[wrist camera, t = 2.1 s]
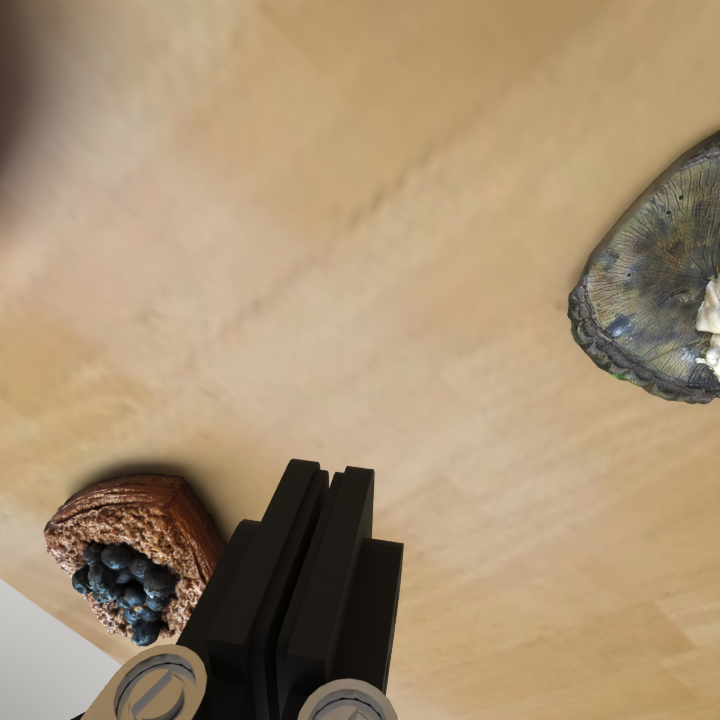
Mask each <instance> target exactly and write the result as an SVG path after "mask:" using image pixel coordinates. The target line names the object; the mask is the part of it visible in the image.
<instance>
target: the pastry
mask: <svg viewBox="0 0 720 720" xmlns="http://www.w3.org/2000/svg"><path fill="white" fill-rule="evenodd" d="M214 521H215V519H214V518H213V516H212V515H210V514H208V513H207V512H206V510H205V508H204V506H203V504H202V503H201V502H200V500H199V498H198V497H197V496H196V495H195V494H194V492H193V490H192V489H191V487H190V486H189V485H188V483H187V482H185V481H184V479H183V477H179V476H168V475H162V474H135V475H134V474H133V475H126V476H122V477H116V478H112V479H109V480H105V481H102V482H99V483H97V484H95V485H92V486H90V487H88V488H86V489H84V490H82V491H80V492H78V493H76V494H75V495H73V496H72V497H70V498H69V499H68V500H67V501H66V502H65V503H64V505H62V506H61V507H60V508H58V511H57V513H56V514H55V515H54V516H53V517H52V518H51V520H50V521H49V522H48V523H47V525H46V527H45V529H44V531H43V532H44V537H45V540H46V542H47V545H48V547H47V552H48V554H50V555H51V557H52V558H56V561H57V564H61V566H62V567H61V570H62V571H66V572H67V573H68V574H69V575H70V577H71V580H72V585H73V587H74V589H75V590H76V591H77V592H79V593H82V595H83V598H84V599H88V602H89V604H90V606H91V608H92V610H93V611H95V613H97V615H96V617H97V618H98V621H101V623H102V624H103V625H104V626H105V627H106V630H107V631H108V632H109V634H114V633H115V632H116V633H117V634H118V633H119V634H121V635H122V636H124V637H127V636H128V637H130V639H131V641H132V642H134V643H136V645H139V646H148V645H150V644H152V643H154V642H155V641H156V640H157V639H158V636H159V634H160V636H162V637H163V639H164V638H165V637H172V635H176V636H178V637H180V635H181V633H182V631H183V629H184V627H185V625H186V623H187V622H188V620H189V618H190V616H191V614H192V612H193V610H194V608H195V606H196V604H197V602H198V600H199V599H200V597H201V595H202V593H203V591H204V589H205V587H206V585H207V583H208V581H209V579H210V577H211V576H212V574H213V572H214V570H215V568H216V566H217V564H218V562H219V560H220V558H221V556H222V554H223V553H224V551H225V549H226V547H227V546H226V544H225V542H224V540H223V539H222V537H221V536H220V534H219V532H218V531H217V529H216V527H215V523H214Z"/></svg>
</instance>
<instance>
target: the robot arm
mask: <svg viewBox="0 0 720 720" xmlns="http://www.w3.org/2000/svg"><path fill="white" fill-rule="evenodd" d="M373 497H374V469H366V468H359V467H351V466H347V467H346V469H345V472H344V473H341V472H335V474H334V476H333V479H332V482H331V485H330V488H329V473H328V471H326V470H320V464H319V462H314V461H306V460H299V459H291V460H290V462H289V463H288V466H287V468H286V470H285V472H284V474H283V476H282V478H281V480H280V482H279V485H278V487H277V489H276V491H275V493H274V495H273V497H272V499H271V501H270V504H269V506H268V508H267V510H266V512H265V514H264V516H263V518H262V520H261V522H260V521H253V520H247V519H243V520H242V521H241V522H240V523H239V525H238V526H237V528H236V530H235V532H234V533H233V535H232V537H231V539H230V541H229V543H228V545H227V547H226V549H225V551H224V553H223V554H222V556H221V558H220V560H219V562H218V564H217V566H216V568H215V570H214V572H213V574H212V576H211V577H210V579H209V581H208V583H207V585H206V587H205V589H204V591H203V593H202V595H201V597H200V599H199V600H198V602H197V604H196V606H195V608H194V610H193V612H192V614H191V616H190V618H189V620H188V622H187V623H186V625H185V627H184V629H183V631H182V633H181V635H180V637H179V639H178V641H177V643H176V644H175V645H173V644H169V645H160V646H155V647H153V648H150V649H147V650H145V651H142V652H140V653H139V654H137V655H136V656H134V657H133V658H131V659H130V660H128V661H127V662H126V663H125V664H124V665H123V666H122V667H121V668H120V669H119V670H118V671H117V672H116V673H115V675H114V676H113V677H112V678H111V680H110V681H109V682H108V684H107V685H106V686H105V688H104V689H103V690H102V691H101V693H100V694H99V695H98V697H97V698H96V699H95V701H94V702H93V703H92V705H91V706H90V707H89V709H88V710H87V711H86V712H84V713H82V714H80V715H79V716H77V717H75V718H73V719H71V720H398V718H397V714H396V713H395V711H394V709H393V707H392V705H391V703H390V701H389V700H388V699H387V697H386V689H387V682H388V675H389V667H390V660H391V653H392V645H393V638H394V631H395V623H396V616H397V608H398V600H399V591H400V582H401V572H402V560H403V548H404V543H397V542H391V541H384V540H378V539H372V519H373Z"/></svg>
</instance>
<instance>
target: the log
mask: <svg viewBox="0 0 720 720" xmlns="http://www.w3.org/2000/svg"><path fill="white" fill-rule="evenodd" d="M568 302H569V308H568V314H567V315H568V317H569V319H571V325H572V327H571V333H572V335H573V337H574V340H575V342H576V343H577V344H578V345H579V346H580V347H581V348H582V349H583V351H584V352H585V353H586V354H587V355H588V356H589V357H590V358H591V359H592V361H593V362H594V363H595V364H596V365H597V366H598V367H599V368H600V369H602V370H604V371H606V372H608V373H609V374H611V375H612V376H613V377H615V378H616V379H619V380H626V381H629V382H631V383H633V384H635V385H637V386H639V387H642V388H643V389H644V390H646V391H647V392H648V393H650V394H652V395H655V396H658V397H661V398H663V399H665V400H668V401H679V402H681V401H684V402H687V403H689V404H695V403H700V404H707V403H709V402H711V401H712V400H713V399H714V398H715V397H717V398H720V131H718V132H717V133H715V134H713V135H711V136H710V137H708V138H707V139H705V140H703V141H702V142H700V143H699V144H697V145H696V146H694V147H693V148H691V149H690V150H689V151H687V152H686V153H684V154H683V155H681V156H680V157H679V158H678V159H677V160H676V161H675V162H674V163H672V164H671V165H670V166H669V167H668V168H667V169H666V170H665V171H664V172H663V173H662V174H661V175H660V176H658V177H657V178H656V179H655V180H654V181H653V182H652V183H651V185H650V186H649V187H648V188H647V189H646V190H645V191H644V192H643V193H642V194H641V195H640V196H639V197H638V198H637V199H636V200H635V201H634V202H633V203H632V204H631V206H630V207H629V208H628V209H627V210H626V212H625V213H624V214H623V215H622V216H621V218H620V219H619V220H618V221H617V222H616V224H615V225H614V226H613V227H612V228H611V230H610V231H609V232H608V233H607V234H606V236H605V237H604V238H603V239H602V240H601V242H600V243H599V244H598V245H597V247H596V248H595V249H594V250H593V252H592V253H591V254H590V256H589V258H588V261H587V263H586V265H585V267H584V269H583V272H582V274H581V276H580V278H579V280H578V283H577V285H576V287H575V288H574V289H573V291H572V292H571V293H570V294H569V300H568Z"/></svg>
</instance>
